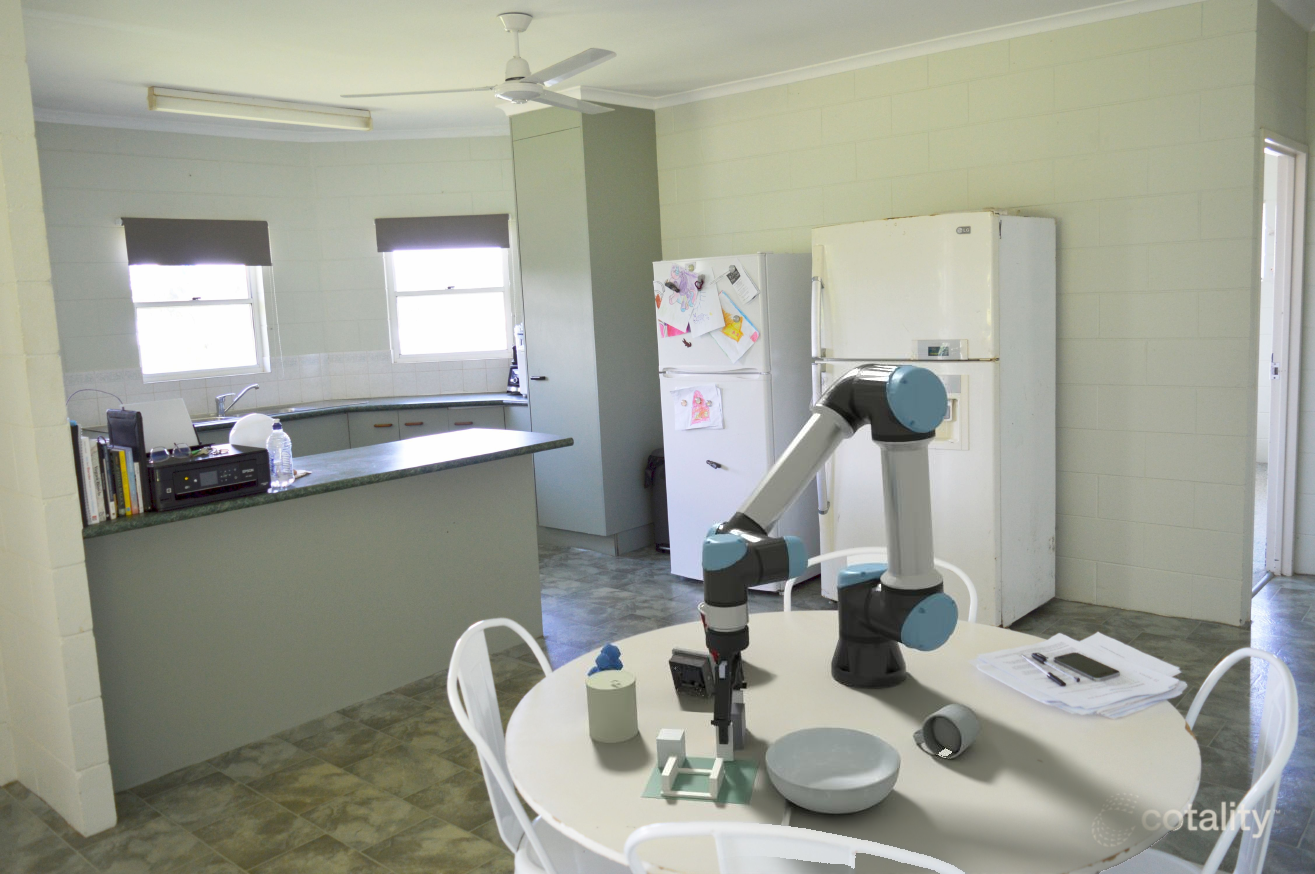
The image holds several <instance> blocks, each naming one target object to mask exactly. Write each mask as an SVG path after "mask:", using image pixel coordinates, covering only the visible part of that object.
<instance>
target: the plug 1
mask: <svg viewBox="0 0 1315 874" xmlns="http://www.w3.org/2000/svg"><path fill="white" fill-rule="evenodd" d="M685 731H686V730H685V729H683V728H682V729H679V728H661V729H660V731H659V733H658V735H657V737H656V738H655V739H656V741H655V742H656V753H657V755H656V758H657V759H656V760H657V762H658V767H663V768H665V766H666V763H667V761H668V759H669V757H670V755H677V760H678V768H682V766H683V763H684V761H685V758H686V757H687V754H686V753H687V752H686V733H685Z"/></svg>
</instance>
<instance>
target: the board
mask: <svg viewBox="0 0 1315 874" xmlns="http://www.w3.org/2000/svg"><path fill="white" fill-rule="evenodd" d="M759 762H760V761H759V760H752V759H750V760H748V759H734V760H733V761H724V759H723V758H717V757H716V758H714V757H699V756H698V757H696V756H686V758H685V761H684V763H683V766H682V768H678V760H677V755H670V757H669V759H668V761H667V763H666V766H665V768H663V767H658V761H657V762H656V764H655V767H654V768H653V771H651V772H652V773H651V775H650V777H649V780H648V781H647V783H646V786H645V788H644V790H643V792H642V794H641V796H640V798H648V799H650V798H652V799H664V800H666V799H667V800H679V801H680V800H682V801H692V802H696V801H697V802H708V803H709V802H710V803H723V804H724V803H725V804H740V805H741V804H742V805H749V803H750V798H751V795H752V791H753V787H754V783H755V779H756V775H757V771H758V769H759V768H758V766H759V764H760V763H759Z"/></svg>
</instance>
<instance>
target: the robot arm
mask: <svg viewBox="0 0 1315 874" xmlns="http://www.w3.org/2000/svg"><path fill="white" fill-rule="evenodd" d="M946 390H947V389H946V387H945V385H944V383H943V381H942V379H941V378H939V376H938V375H936V373H934V372H933V371H932V370H931V369H928V368H926V367H922V366H921V367H920V366H917V365H916V366H915V365H912V364H881V363H865V364H861V365H858V366H855V367H854V368H852V369H850V370H848V371H847V372H845V373H844V374H843V375H842V376H841V377H840V376H839V378H838V379H836V380H835V381H834V382H833V383H832V384H831V385H830V386H829V387H828V388H827V389H826V390H825V391H824V392H823V393H822V395H821V396H820V397H819V398H818V400H817V401H816V402H815V403H814V405H813V406H812V407H811V413H812V416H811V417H810V418H809V419H808V421H807V422H806V423H805V424H804V426H803V427H802V429H800V431H799V432H798V433H797V435H795V437H794V438H793V439H792V441H791V442H790V443H789V445H788V446H787V447H786V448H785V450H784V451H783V452H782V454H781V455H780V456H779V457H778V459H777V460H776V461H775V462H774V464H772V466H771V468H770V469H769V470H768V471H767V473H766V474H765V475H764V476H763V477H762V479H761V480H760V482H759V483H758V484H756V486H755V488H754V489H753V490H752V492H751V493H750V494H749V495H748V496H747V498H746V499H745V500H744V502H743V503H742V504H741V506H739V508H738V510H737V511H736V512H735V513H734V514H733V516H732V517H731V518H730V519H729V520H728V521H719V522H717V523H715V524H714V525H711V527H710V528H709V529H708V532H707V533H706V536H705V539H704V541H703V543H702V550H701V552H702V553H701V554H702V555H701V566H702V581H703V582H702V583H703V585H702V586H703V599H704V601H703V602H705V604H704V605H703V606H702V607H701V610H702V611H705V612H706V613H705V623H706V624H707V626H706V627H705V631H704V634H705V635H704V636H705V646H706V648H707V649H708V651H709V650H711V651H714V652H716V653H718V659H716V661H715V667H714V670H715V693H714V692H713V693H714V696H713V698H714V700H713V719H710V725H711V726H712V725H713V727H715V744H716V745H715V747H716V758H723V759H724V761H733V760H735V757H734V749H733V729H732V722H731V710H732V703H745V702H744V690H747V689H748V682H745V673H744V672H745V671H744V666H743V658H742V651H743V652H744V651H745V650H747V648H749V646H750V628H749V626H748V624H749V622H750V616H749V615H750V614H749V611H750V610H749V600H748V599H749V596H748V594H749V592H748V591H749V588H754V587H759V586H764V585H769V584H774V583H780V582H784V581H785V582H788V581H790V580H792V579H797V578H799V577H802V576H803V575H804V574H805V573H806V571H807V570H808V567H809V553H808V550H807V548H806V545H805V543H804V542H803V541H802V540H801V538H799V537H798V536H797V535H795V536H794V535H787V536H786V535H781V536H779V537H772V536H770V534H771V533H772V532H773V530H774V529H775V528H776V527H777V525H778V524H779V523H780V522H781V520H782V518H784V516H785V515H786V514H787V512H788V511H789V510H790V508H791V507H792V506H793V505H794V503H796V501H797V499H799V498H800V496H801V495H802V493H803V492H804V491H805V489H806V488H807V487H808V486H809V484H810V483H811V481H812V480H813V479H814V478H815V476H817V475H818V472H819V471H820V470H821V469H822V468H823V466H824V465H825V464H826V463H827V461H828V460H829V459H830V458H831V456H832V455H833V454H834V452H835V451H836V449H837V448H839V446H840V444H841V443H842V442H843V440H849V439H852V437H854V435H855V433H857V431H858V430H860V429H861V428H863V427H865V426H867V425H870V433H871V441H872V442H873V443H875V445H877V446H878V447H879V449H880V461H881V479H882V494H883V496H882V497H883V508H884V509H883V511H884V512H883V513H884V525H885V526H884V528H885V543H886V544H885V545H886V557H887V558H886V559H887V563H885V562H866V563H857V564H852V565H848V566H845V567H843V568H842V569H840V571H839V572H838V574H837V583H836V584H837V586H836V590H837V613H838V615H837V616H838V619H837V620H838V638H837V639H838V640H837V643H836V646H835V648H834V649H835V650H834V652H833V656H832V659H831V662H830V663H831V665H830V672H831V677H832V678H833V679H834V680H835V681H838V682H839V683H841V684H844V685H847V686H851V687H854V688H863V689H881V688H887V687H888V688H889V687H892V686H895V685H899V684H900V683H902V682H903V681H904V680H905V679H906V677H907V665H906V661H905V658H904V656H903V653H902V650H901V647H900V644H902V645H904V646H905V647H906V648H908V649H914V650H917V651H920V652H932V651H935V650H937V649H939V648H941V647H942V646H944V645H945V644H946V643H947V642H948V640H949V639H950V637H951V636H952V635H953V633H954V631H955V629H956V628H957V625H958V620H959V609H958V605H957V602H956V601H955V600H954V599H953V598H952V597H951V595H949V594H946V592H945V589H944V576H943V574H942V573H941V572H939V571H938V570H937V569H936V568H935V561H934V560H935V559H934V558H935V557H934V537H933V519H932V499H931V481H930V464H929V462H930V461H929V444H931V443H932V442H933V440H934V439H936V437H937V436H936V434H937V433H936V432H937V431H936V429H937V428H938V427H940V426H941V425H942V424H943V421H944V417H945V416H946V415H947V412H948V406H949V404H948V401H949V400H948V393H947V391H946ZM899 643H900V644H899Z"/></svg>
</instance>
